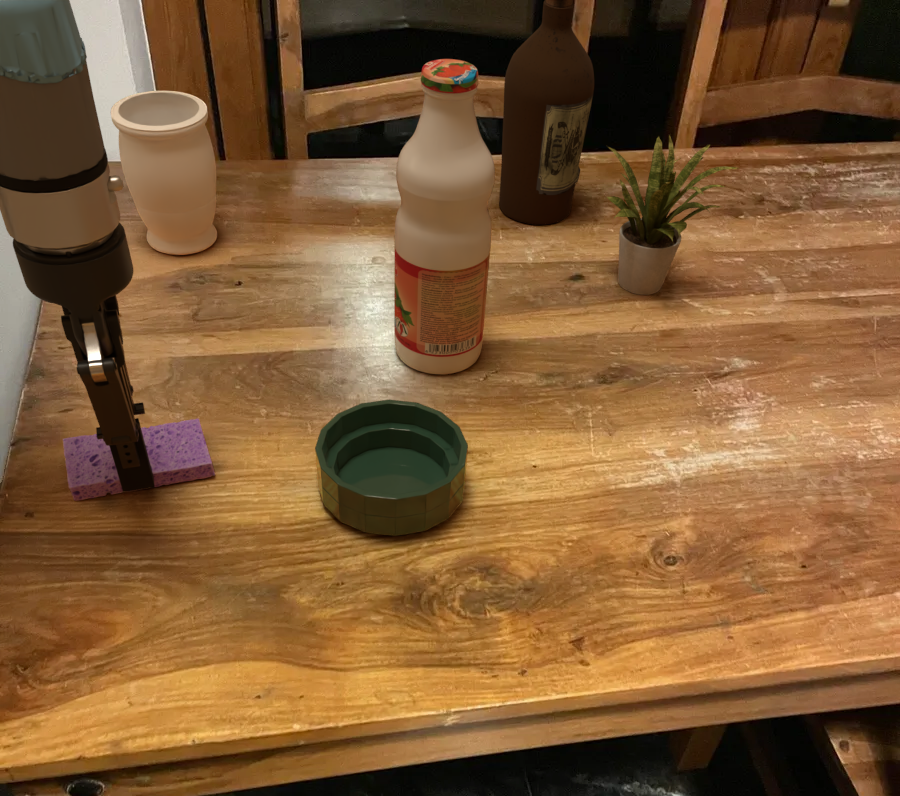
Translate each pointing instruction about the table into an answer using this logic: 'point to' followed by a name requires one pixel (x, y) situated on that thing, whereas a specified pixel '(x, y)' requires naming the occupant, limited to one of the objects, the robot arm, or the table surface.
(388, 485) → the dish
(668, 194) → the house plant
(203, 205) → the jar
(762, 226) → the table surface
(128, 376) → the robot arm
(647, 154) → the table surface
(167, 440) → the sponge
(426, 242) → the fruit juice
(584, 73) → the olive oil
